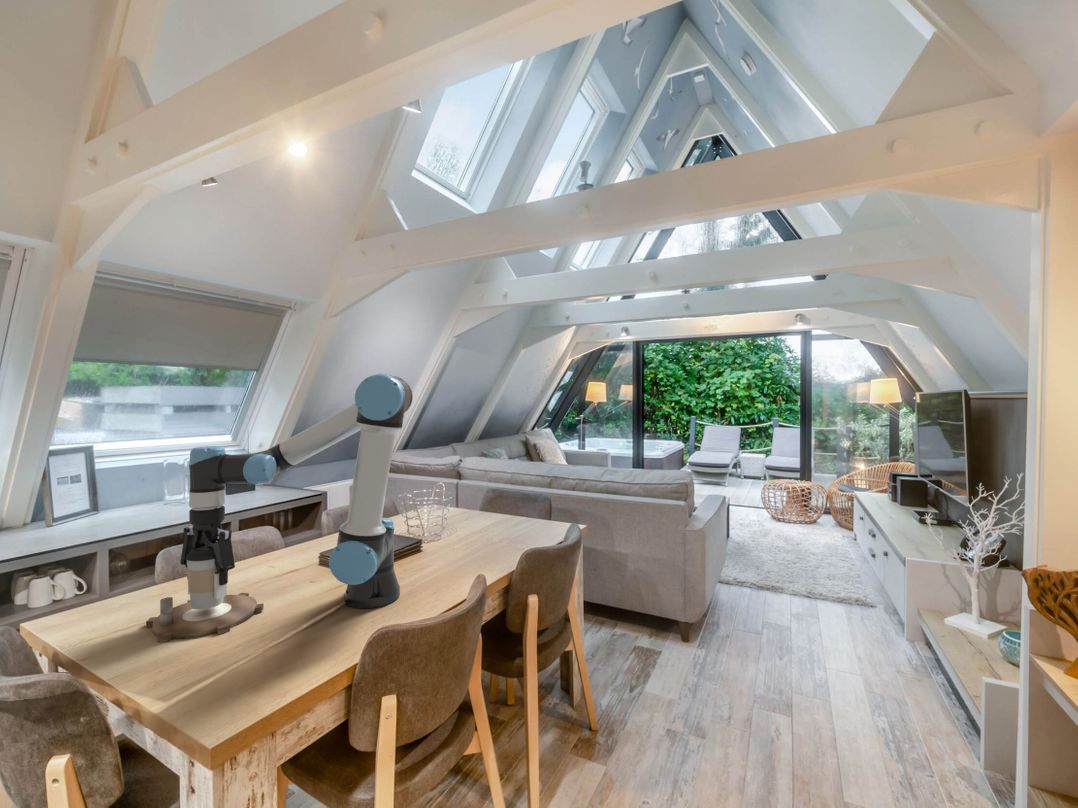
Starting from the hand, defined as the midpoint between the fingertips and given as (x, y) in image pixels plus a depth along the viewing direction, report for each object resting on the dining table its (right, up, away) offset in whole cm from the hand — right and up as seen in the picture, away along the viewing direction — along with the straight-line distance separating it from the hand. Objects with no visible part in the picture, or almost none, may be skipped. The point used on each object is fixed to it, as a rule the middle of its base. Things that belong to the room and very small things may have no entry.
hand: (207, 594), depth 123 cm
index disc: (0, -6, 0) cm, 6 cm away
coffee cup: (0, -3, 0) cm, 3 cm away
